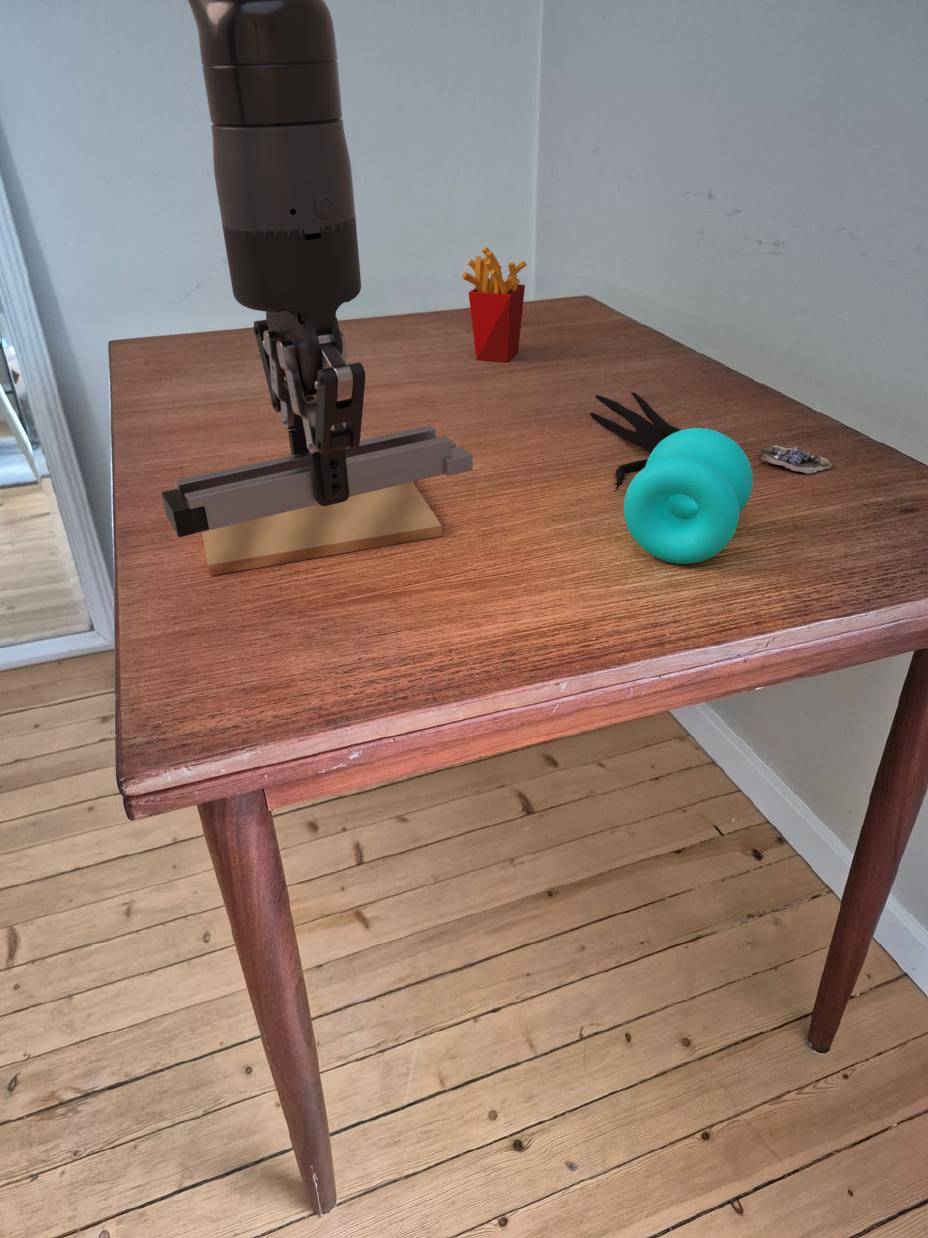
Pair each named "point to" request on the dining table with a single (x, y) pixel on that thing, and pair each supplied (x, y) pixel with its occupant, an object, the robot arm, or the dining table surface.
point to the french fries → (495, 308)
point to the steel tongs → (307, 480)
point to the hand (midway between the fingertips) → (322, 489)
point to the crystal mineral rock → (794, 459)
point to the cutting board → (323, 530)
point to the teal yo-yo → (689, 496)
